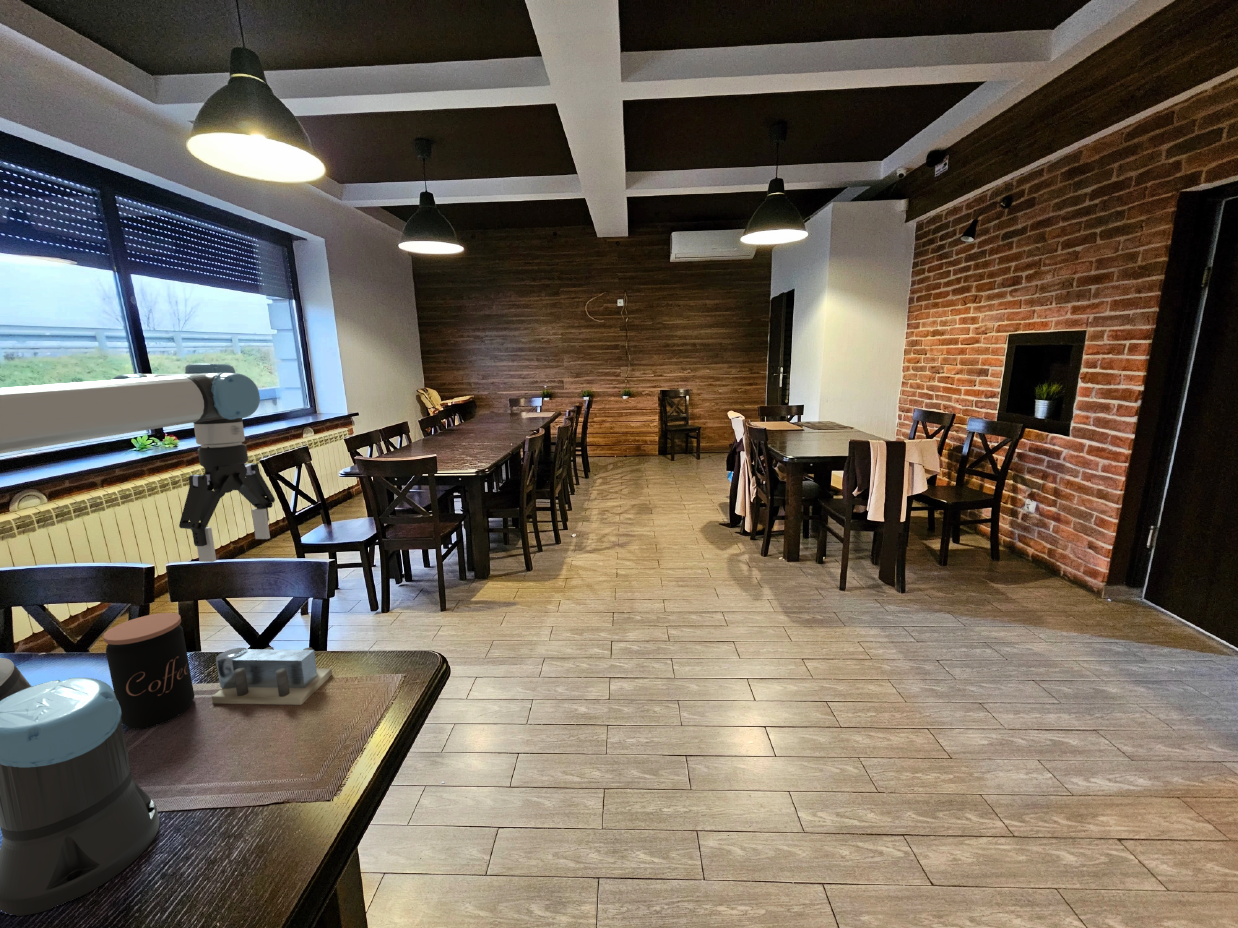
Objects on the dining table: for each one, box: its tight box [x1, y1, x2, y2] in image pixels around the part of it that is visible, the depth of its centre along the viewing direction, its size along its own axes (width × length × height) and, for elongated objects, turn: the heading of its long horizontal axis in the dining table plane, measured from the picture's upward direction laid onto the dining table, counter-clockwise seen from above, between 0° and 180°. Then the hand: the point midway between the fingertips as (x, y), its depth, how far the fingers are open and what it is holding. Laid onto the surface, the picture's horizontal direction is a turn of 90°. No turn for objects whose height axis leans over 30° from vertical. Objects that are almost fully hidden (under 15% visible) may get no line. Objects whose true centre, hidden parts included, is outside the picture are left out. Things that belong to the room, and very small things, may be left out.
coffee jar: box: [102, 612, 195, 730], centre depth 95 cm, size 11×11×18 cm
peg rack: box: [211, 646, 333, 706], centre depth 103 cm, size 10×18×6 cm, turn 87°
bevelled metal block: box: [215, 647, 317, 689], centre depth 103 cm, size 19×5×6 cm, turn 88°
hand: (237, 549), depth 101 cm, fingers open, 13 cm apart
